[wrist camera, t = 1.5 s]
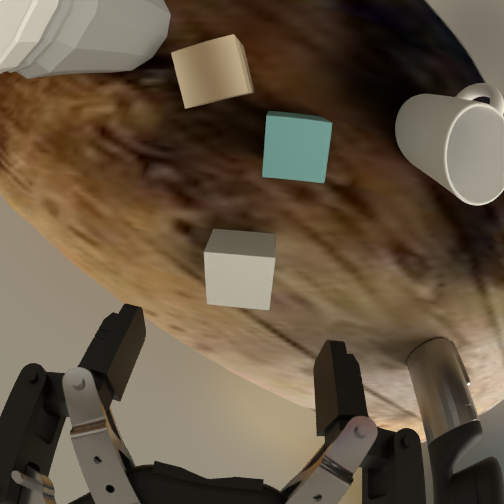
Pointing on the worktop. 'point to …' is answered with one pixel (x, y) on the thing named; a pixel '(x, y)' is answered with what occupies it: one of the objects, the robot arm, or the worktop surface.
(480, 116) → the mug
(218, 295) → the pedestal block
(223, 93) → the beech block
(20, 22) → the jar
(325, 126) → the teal cube
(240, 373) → the worktop surface
